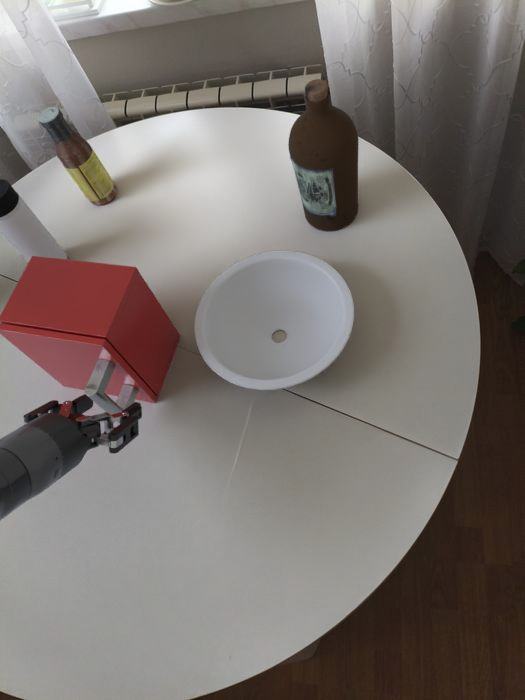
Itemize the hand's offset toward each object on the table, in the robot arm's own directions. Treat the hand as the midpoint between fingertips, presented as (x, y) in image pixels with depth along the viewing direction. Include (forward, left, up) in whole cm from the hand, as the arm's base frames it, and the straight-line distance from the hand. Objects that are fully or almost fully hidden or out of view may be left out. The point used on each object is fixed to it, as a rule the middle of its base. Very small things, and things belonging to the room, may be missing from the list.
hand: (114, 403), depth 78 cm
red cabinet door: (-7, 0, -8) cm, 10 cm away
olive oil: (+9, +48, -8) cm, 50 cm away
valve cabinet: (-9, +8, -8) cm, 15 cm away
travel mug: (-34, +18, -8) cm, 40 cm away
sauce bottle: (-36, +36, -8) cm, 52 cm away
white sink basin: (+13, +22, -8) cm, 27 cm away
